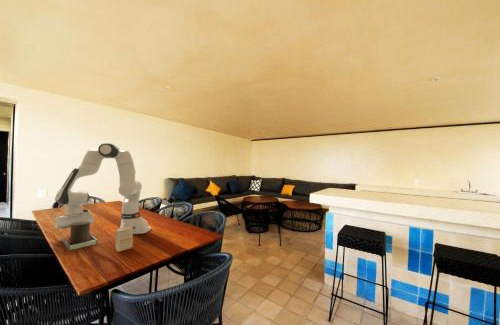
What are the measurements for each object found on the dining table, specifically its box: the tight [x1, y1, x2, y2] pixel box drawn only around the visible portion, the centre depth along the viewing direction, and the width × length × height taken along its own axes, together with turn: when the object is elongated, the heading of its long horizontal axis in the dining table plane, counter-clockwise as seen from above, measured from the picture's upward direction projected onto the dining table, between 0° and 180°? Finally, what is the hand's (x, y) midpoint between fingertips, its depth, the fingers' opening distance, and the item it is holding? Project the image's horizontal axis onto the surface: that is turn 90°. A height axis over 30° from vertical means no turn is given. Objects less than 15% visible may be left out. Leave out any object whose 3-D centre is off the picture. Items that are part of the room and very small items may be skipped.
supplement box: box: [115, 226, 134, 253], centre depth 126 cm, size 8×5×13 cm, turn 141°
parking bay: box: [61, 233, 98, 251], centre depth 133 cm, size 20×14×2 cm
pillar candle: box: [69, 221, 91, 245], centre depth 131 cm, size 10×10×15 cm
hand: (76, 231), depth 138 cm, fingers closed
